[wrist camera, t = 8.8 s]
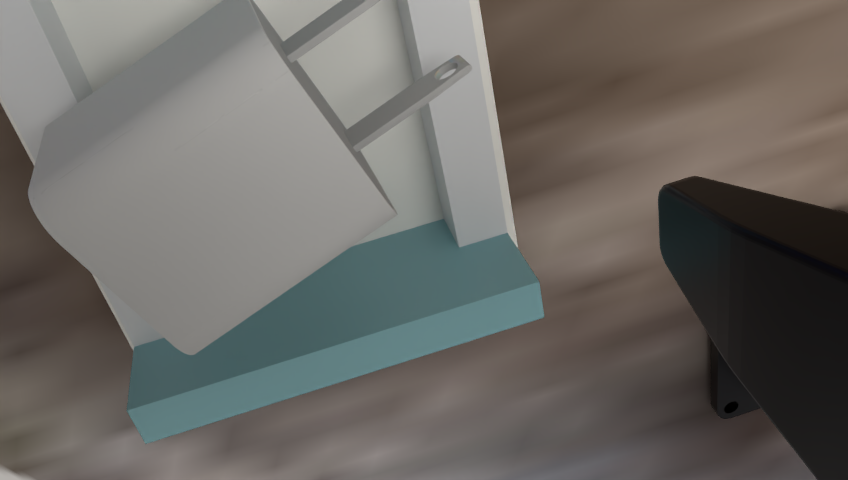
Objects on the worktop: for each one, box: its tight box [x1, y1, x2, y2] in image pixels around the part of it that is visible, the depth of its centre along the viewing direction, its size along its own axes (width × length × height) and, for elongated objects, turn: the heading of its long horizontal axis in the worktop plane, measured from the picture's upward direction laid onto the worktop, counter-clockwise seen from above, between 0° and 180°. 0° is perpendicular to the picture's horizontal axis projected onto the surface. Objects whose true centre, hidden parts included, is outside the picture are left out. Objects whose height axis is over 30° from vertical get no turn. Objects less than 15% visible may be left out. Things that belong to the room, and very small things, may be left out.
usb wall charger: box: [28, 0, 472, 355], centre depth 14 cm, size 4×7×4 cm, turn 120°
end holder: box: [0, 0, 544, 444], centre depth 15 cm, size 13×10×4 cm
